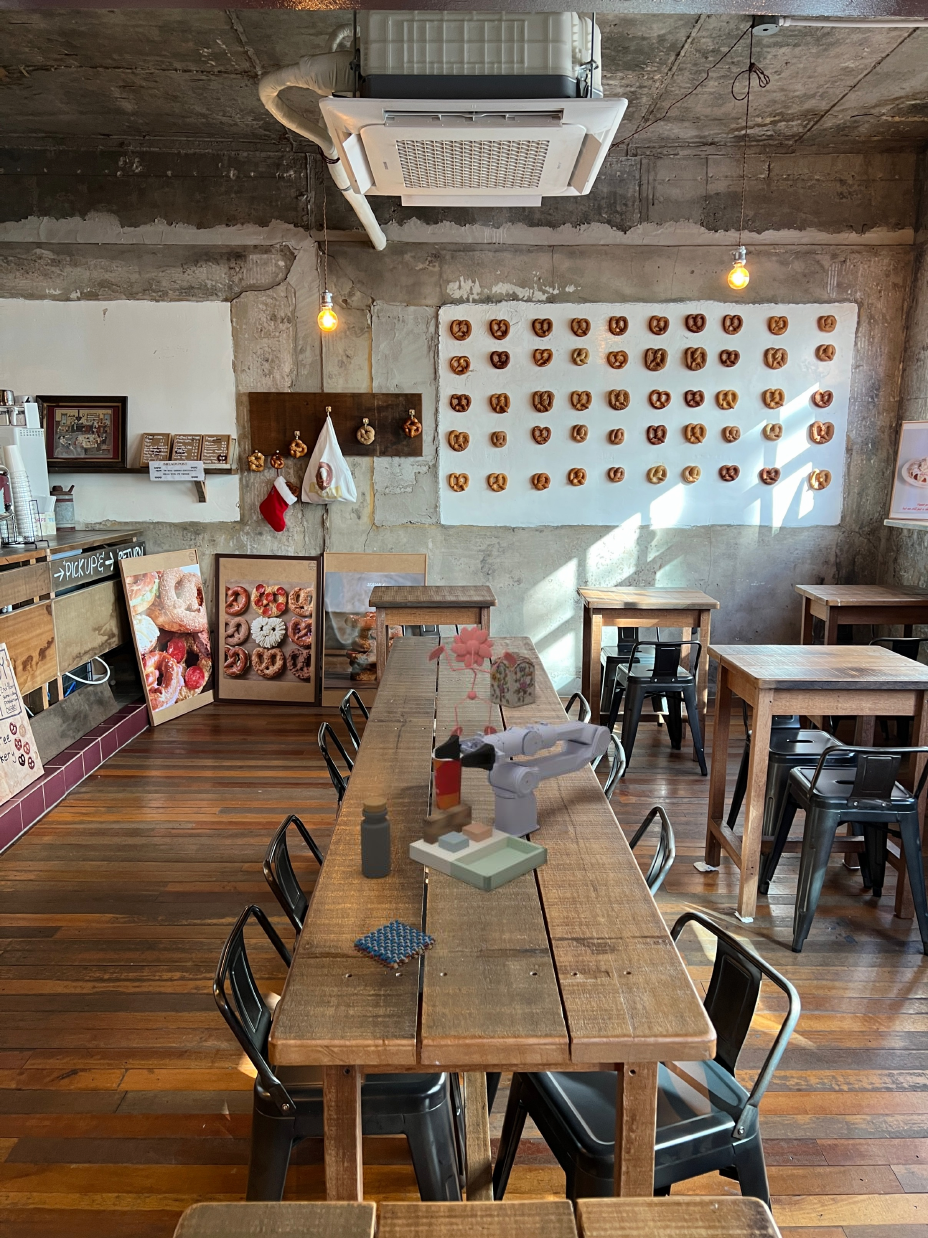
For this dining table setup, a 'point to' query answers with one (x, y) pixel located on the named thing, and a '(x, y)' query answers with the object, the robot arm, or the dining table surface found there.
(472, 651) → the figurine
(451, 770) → the paper cup
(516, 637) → the dining table surface
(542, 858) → the tray
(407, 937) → the woven mat
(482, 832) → the tile
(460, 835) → the tile
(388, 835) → the bottle
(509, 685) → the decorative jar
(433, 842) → the bar
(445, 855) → the bench
